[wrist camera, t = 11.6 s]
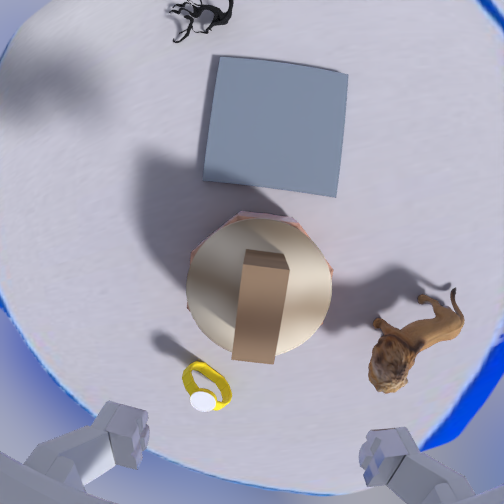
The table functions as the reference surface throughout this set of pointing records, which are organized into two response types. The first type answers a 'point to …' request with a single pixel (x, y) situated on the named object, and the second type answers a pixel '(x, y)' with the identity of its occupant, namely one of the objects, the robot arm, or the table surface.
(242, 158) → the mat
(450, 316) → the lion figurine
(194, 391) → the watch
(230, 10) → the creature
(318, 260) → the lid
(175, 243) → the table surface
